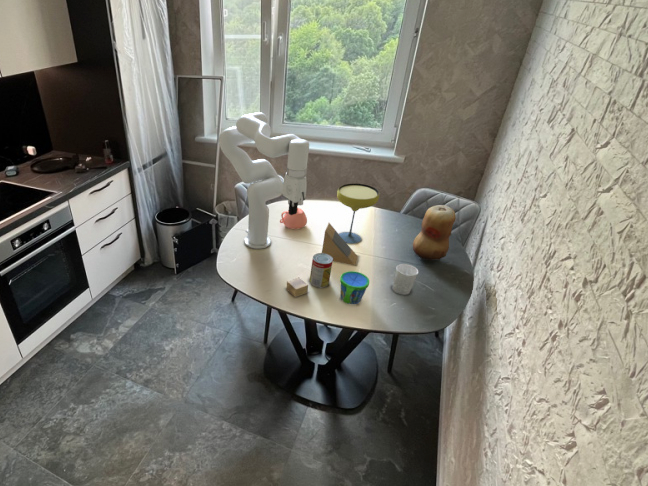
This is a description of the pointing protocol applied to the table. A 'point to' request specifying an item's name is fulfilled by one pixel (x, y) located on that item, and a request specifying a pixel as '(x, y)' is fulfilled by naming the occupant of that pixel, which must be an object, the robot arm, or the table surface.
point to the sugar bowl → (294, 219)
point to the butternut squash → (435, 233)
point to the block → (297, 287)
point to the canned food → (321, 270)
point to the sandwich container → (338, 247)
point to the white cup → (404, 278)
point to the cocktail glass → (356, 204)
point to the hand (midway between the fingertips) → (292, 213)
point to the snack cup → (353, 286)
